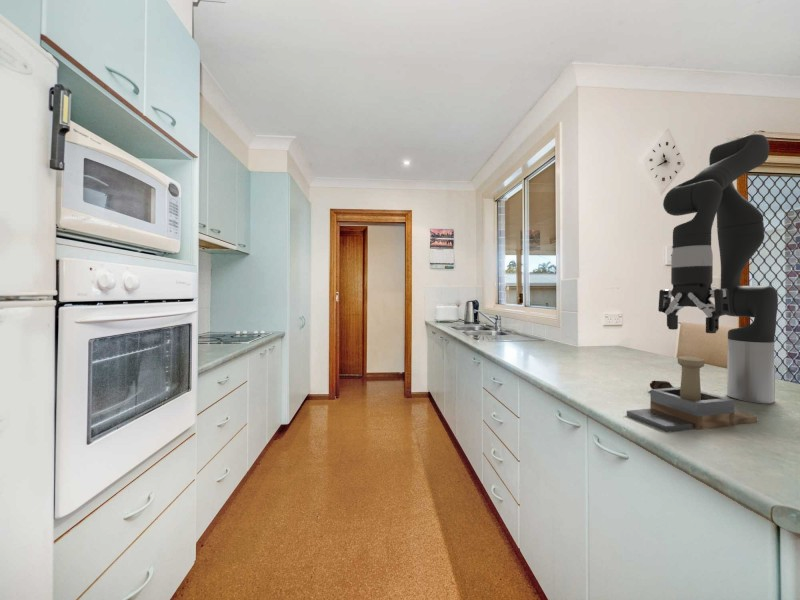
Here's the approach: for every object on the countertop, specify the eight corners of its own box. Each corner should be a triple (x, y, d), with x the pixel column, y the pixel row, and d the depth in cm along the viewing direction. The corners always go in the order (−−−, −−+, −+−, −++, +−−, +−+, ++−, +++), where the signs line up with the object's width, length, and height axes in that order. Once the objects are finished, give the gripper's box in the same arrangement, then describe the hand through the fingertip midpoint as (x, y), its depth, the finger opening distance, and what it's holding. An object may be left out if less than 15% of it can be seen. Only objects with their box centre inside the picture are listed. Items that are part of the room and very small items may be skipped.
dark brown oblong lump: (657, 397, 101) (690, 412, 87) (642, 388, 102) (671, 402, 88) (667, 381, 101) (702, 394, 86) (652, 373, 102) (683, 384, 87)
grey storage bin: (683, 408, 85) (684, 386, 85) (734, 425, 75) (734, 400, 74) (624, 414, 82) (625, 391, 81) (668, 432, 71) (669, 406, 71)
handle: (703, 417, 79) (704, 357, 79) (703, 425, 75) (704, 361, 75) (678, 412, 83) (678, 355, 83) (676, 419, 78) (676, 359, 78)
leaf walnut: (707, 406, 87) (707, 395, 87) (759, 422, 76) (760, 410, 76) (650, 412, 83) (650, 400, 83) (697, 429, 72) (697, 416, 72)
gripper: (738, 263, 72) (738, 334, 72) (673, 268, 86) (673, 327, 86) (713, 262, 70) (712, 335, 71) (650, 268, 84) (650, 328, 85)
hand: (690, 331), depth 78 cm, fingers open, 8 cm apart
